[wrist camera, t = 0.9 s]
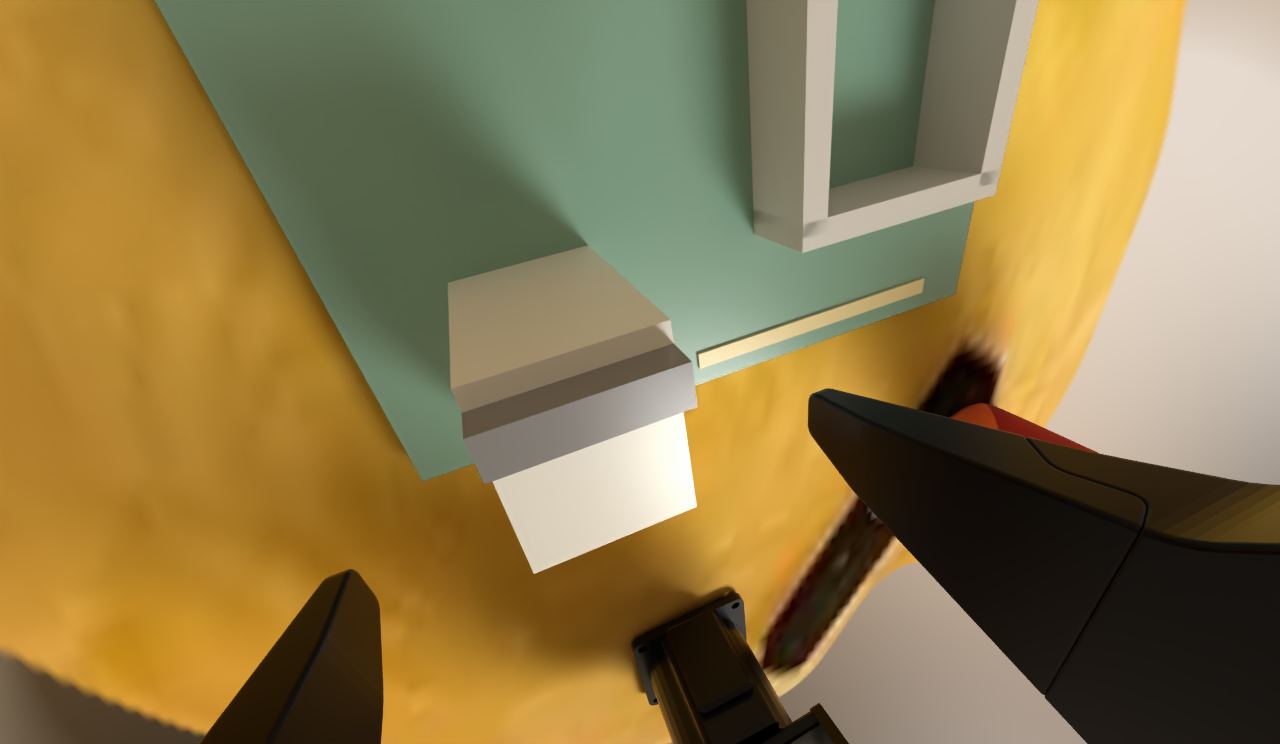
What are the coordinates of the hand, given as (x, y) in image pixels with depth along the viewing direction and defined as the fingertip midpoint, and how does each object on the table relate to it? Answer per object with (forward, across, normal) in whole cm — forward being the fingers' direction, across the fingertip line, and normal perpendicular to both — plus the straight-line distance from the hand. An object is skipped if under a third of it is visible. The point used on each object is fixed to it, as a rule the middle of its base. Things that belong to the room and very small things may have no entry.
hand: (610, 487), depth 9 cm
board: (+8, -6, -4) cm, 10 cm away
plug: (+7, 0, 0) cm, 7 cm away
